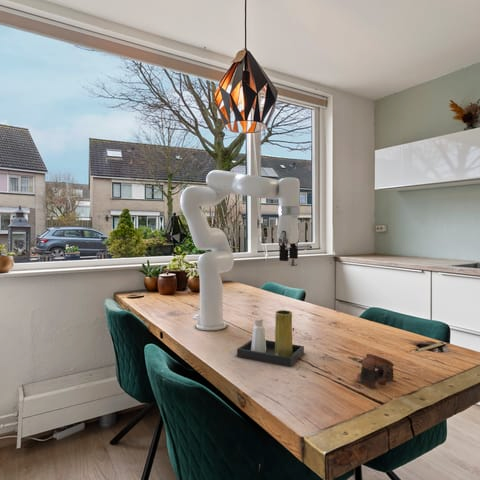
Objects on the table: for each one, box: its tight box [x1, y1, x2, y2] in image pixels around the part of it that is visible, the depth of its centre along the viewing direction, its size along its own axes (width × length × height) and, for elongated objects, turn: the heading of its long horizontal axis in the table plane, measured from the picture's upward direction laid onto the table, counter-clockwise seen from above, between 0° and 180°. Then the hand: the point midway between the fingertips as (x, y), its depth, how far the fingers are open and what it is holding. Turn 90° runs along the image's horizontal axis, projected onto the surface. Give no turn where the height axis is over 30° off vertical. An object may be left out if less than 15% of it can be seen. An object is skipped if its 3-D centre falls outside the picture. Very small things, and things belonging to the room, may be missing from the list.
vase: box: [274, 309, 293, 357], centre depth 116 cm, size 6×6×14 cm
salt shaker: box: [251, 317, 266, 353], centre depth 121 cm, size 5×5×11 cm
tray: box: [236, 339, 305, 367], centre depth 119 cm, size 19×13×2 cm
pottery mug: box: [357, 353, 395, 389], centre depth 98 cm, size 12×10×8 cm
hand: (288, 259), depth 131 cm, fingers open, 9 cm apart
